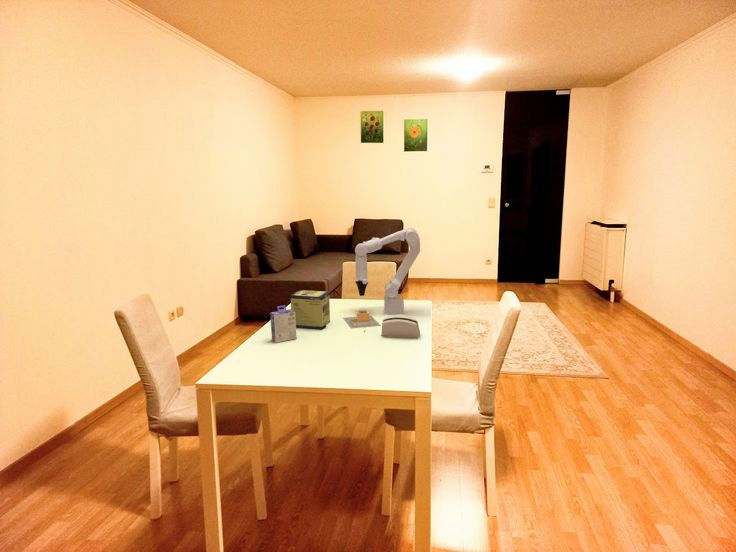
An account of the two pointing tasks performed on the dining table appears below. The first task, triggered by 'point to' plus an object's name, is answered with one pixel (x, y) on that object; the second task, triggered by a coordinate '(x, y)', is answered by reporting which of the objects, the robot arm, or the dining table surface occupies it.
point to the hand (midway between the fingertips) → (361, 295)
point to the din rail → (358, 324)
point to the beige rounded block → (400, 327)
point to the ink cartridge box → (283, 324)
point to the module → (362, 316)
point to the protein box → (311, 309)
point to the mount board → (356, 318)
